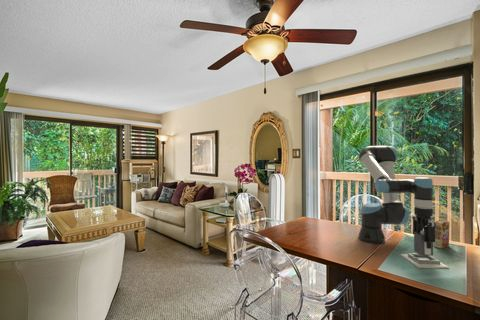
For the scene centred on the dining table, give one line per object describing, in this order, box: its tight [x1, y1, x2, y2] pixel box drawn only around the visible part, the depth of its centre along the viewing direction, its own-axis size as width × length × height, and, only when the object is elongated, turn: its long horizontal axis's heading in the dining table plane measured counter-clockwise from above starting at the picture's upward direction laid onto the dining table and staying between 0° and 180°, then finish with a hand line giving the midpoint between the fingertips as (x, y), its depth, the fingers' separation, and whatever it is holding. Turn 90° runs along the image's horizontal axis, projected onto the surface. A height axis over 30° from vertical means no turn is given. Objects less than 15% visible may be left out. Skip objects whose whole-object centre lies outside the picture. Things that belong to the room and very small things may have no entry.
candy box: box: [433, 219, 451, 249], centre depth 138 cm, size 9×4×15 cm, turn 115°
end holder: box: [400, 252, 450, 269], centre depth 119 cm, size 14×14×2 cm
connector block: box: [413, 229, 434, 256], centre depth 119 cm, size 5×6×12 cm
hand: (423, 251), depth 119 cm, fingers closed on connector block, 5 cm apart
